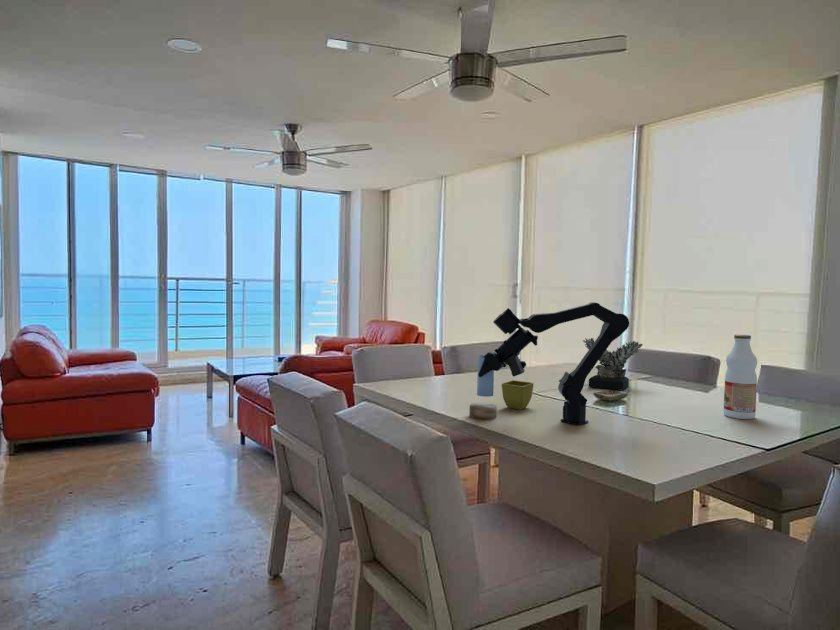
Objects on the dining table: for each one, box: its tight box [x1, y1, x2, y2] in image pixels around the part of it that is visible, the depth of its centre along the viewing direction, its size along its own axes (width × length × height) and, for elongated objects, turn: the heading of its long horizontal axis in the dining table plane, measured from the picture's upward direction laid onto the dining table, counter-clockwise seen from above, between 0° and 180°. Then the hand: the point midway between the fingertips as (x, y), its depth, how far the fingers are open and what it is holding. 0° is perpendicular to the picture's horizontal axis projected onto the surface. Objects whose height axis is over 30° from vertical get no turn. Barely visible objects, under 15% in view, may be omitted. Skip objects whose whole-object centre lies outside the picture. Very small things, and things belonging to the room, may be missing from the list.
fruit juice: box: [723, 334, 758, 420], centre depth 183 cm, size 9×9×28 cm
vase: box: [476, 354, 495, 398], centre depth 178 cm, size 5×5×13 cm
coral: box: [582, 337, 643, 391], centre depth 237 cm, size 25×18×21 cm
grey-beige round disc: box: [469, 402, 498, 421], centre depth 180 cm, size 9×9×4 cm
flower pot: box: [501, 379, 534, 410], centre depth 193 cm, size 9×9×9 cm
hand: (481, 375), depth 179 cm, fingers closed on vase, 5 cm apart
